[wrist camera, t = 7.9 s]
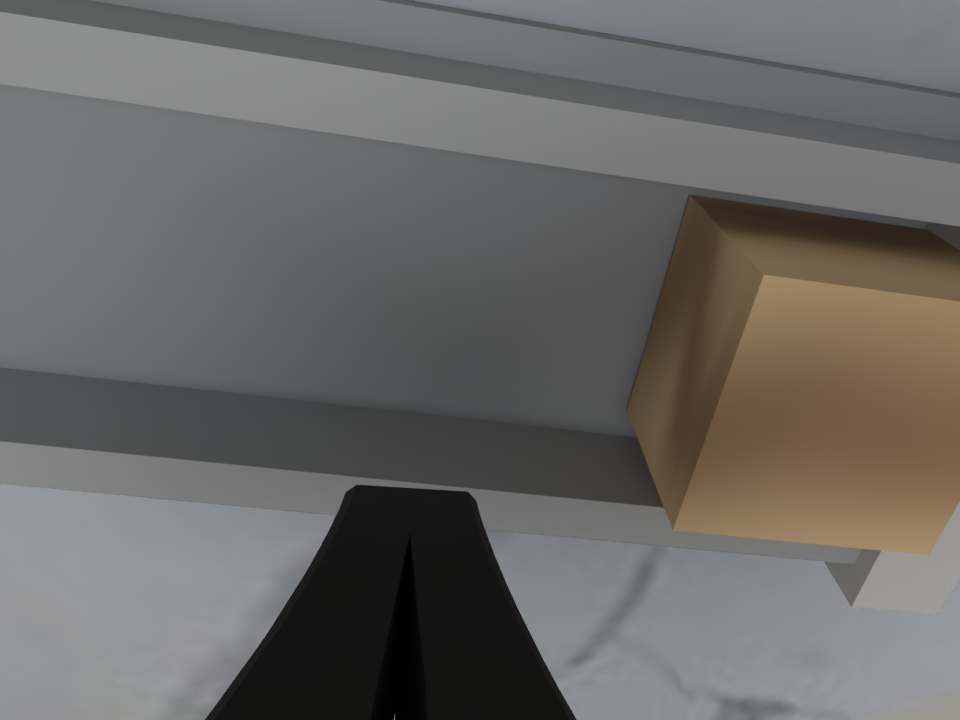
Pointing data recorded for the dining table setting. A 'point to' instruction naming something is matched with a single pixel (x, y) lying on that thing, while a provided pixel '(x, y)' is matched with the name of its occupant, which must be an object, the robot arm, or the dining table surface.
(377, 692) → the robot arm
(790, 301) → the keeper
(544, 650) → the dining table surface
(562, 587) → the dining table surface
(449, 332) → the channel
